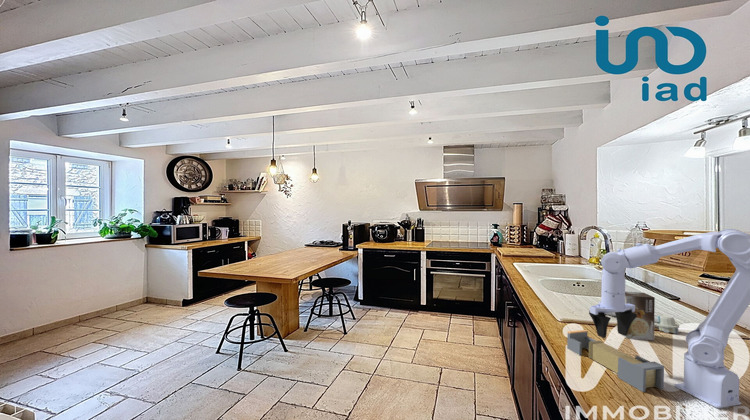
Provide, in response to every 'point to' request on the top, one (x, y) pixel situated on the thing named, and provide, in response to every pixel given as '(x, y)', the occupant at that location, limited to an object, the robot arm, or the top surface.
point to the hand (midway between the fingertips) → (611, 335)
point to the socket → (578, 341)
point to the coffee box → (641, 316)
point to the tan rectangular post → (616, 359)
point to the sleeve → (640, 373)
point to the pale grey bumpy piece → (661, 323)
